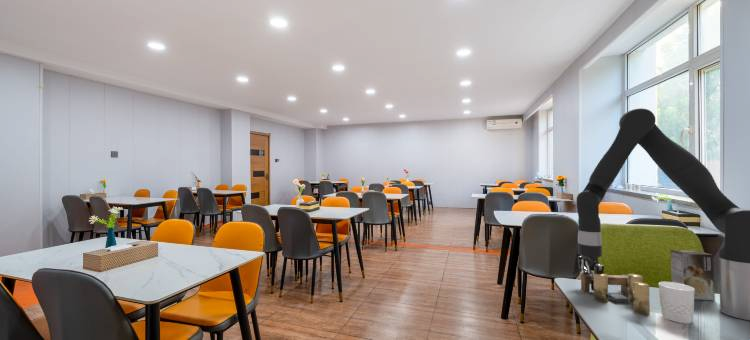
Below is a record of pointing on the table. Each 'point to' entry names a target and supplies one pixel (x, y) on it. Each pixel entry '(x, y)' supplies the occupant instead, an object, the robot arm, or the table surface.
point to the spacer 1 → (600, 287)
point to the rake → (612, 280)
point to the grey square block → (618, 298)
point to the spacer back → (641, 298)
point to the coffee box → (694, 272)
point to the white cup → (677, 302)
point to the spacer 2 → (632, 279)
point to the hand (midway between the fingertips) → (590, 287)
